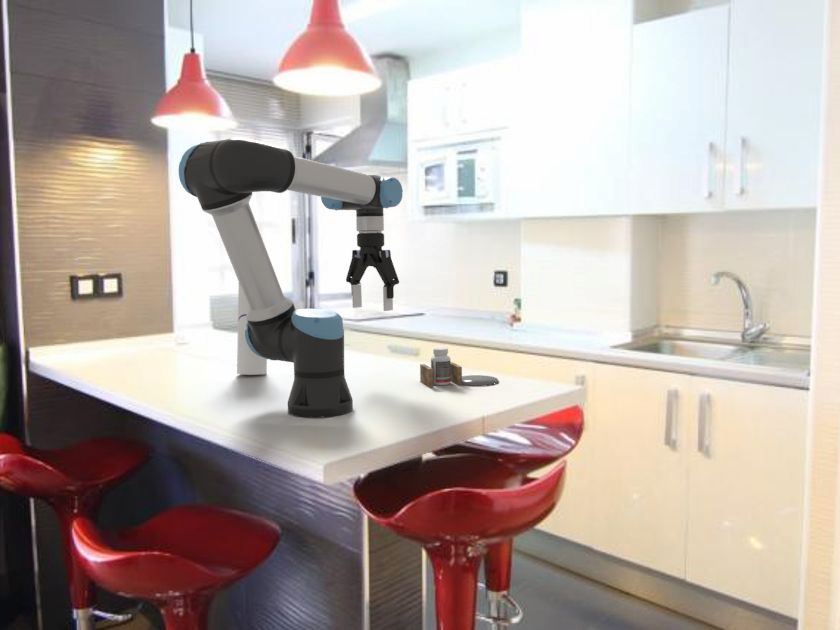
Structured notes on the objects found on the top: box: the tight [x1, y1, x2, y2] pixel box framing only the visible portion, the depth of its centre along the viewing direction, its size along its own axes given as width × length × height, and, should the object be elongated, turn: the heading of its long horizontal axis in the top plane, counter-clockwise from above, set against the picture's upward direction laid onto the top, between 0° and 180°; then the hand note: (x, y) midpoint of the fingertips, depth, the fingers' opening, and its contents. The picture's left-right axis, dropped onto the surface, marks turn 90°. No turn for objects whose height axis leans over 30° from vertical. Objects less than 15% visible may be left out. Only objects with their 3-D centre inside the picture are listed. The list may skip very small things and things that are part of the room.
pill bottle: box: [430, 347, 452, 386], centre depth 192 cm, size 5×5×10 cm
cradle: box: [419, 361, 463, 389], centre depth 192 cm, size 8×9×5 cm
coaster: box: [461, 374, 499, 387], centre depth 194 cm, size 12×12×1 cm
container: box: [236, 282, 268, 376], centre depth 208 cm, size 9×9×30 cm
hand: (372, 309), depth 195 cm, fingers open, 13 cm apart
